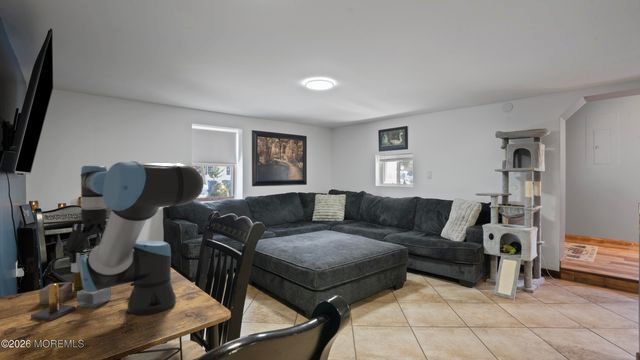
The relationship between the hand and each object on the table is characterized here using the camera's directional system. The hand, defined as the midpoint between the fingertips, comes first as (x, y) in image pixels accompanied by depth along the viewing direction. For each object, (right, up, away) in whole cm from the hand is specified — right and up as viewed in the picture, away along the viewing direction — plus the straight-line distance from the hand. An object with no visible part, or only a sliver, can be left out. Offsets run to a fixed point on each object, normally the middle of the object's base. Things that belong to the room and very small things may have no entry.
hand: (94, 266), depth 108 cm
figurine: (+9, -14, +12) cm, 20 cm away
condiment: (-14, -13, +13) cm, 23 cm away
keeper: (-7, -14, -9) cm, 18 cm away
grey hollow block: (0, -14, 0) cm, 14 cm away
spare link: (-16, -13, +2) cm, 21 cm away
